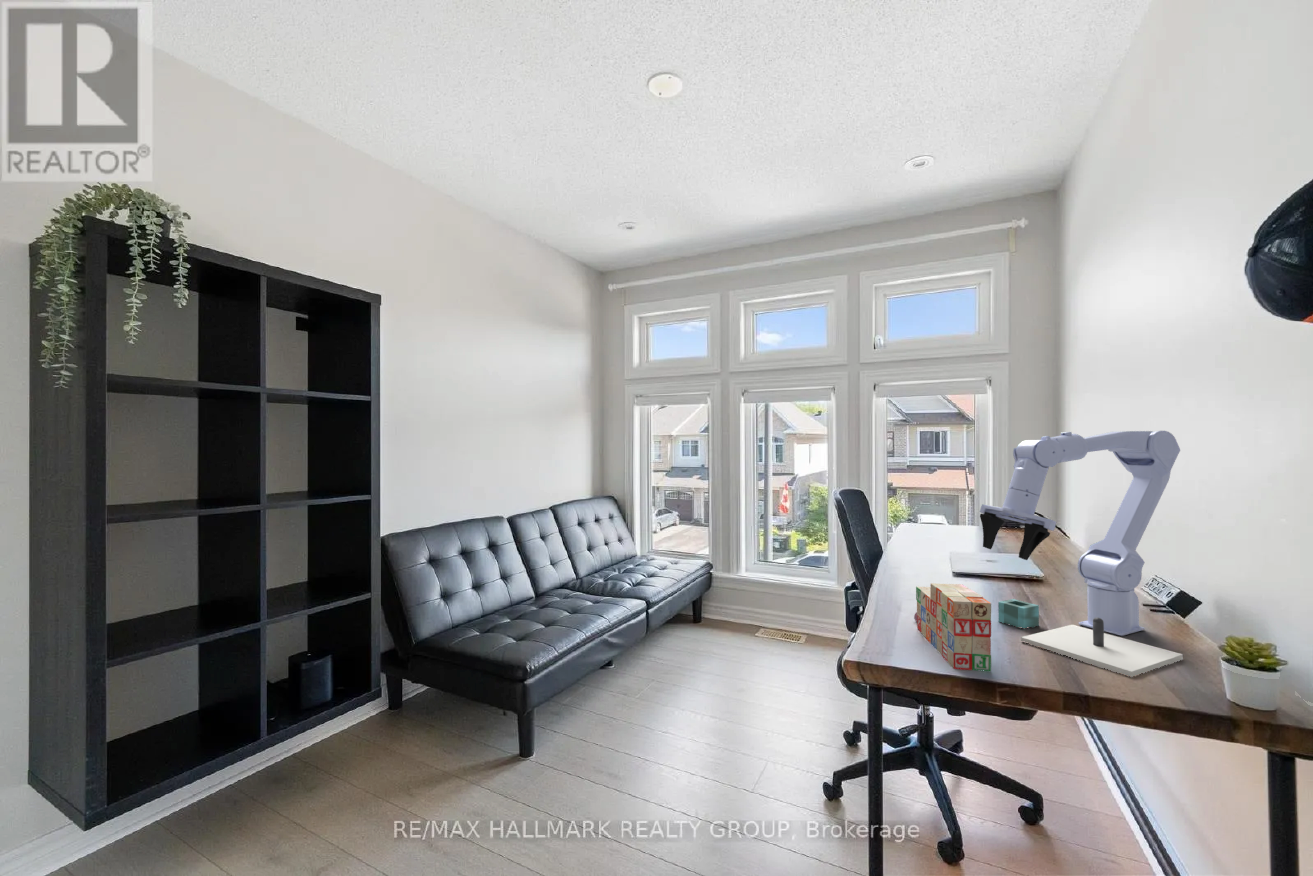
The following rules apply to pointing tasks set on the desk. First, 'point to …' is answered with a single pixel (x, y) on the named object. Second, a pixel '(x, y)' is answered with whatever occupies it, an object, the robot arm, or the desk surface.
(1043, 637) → the white square slab
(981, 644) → the stack of blocks
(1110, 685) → the desk surface
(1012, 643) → the desk surface
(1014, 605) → the teal hollow square tube
